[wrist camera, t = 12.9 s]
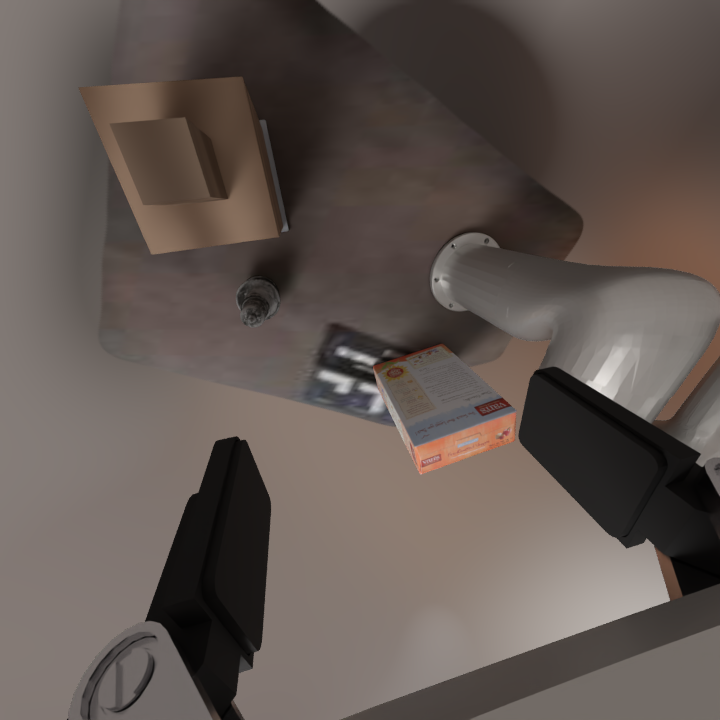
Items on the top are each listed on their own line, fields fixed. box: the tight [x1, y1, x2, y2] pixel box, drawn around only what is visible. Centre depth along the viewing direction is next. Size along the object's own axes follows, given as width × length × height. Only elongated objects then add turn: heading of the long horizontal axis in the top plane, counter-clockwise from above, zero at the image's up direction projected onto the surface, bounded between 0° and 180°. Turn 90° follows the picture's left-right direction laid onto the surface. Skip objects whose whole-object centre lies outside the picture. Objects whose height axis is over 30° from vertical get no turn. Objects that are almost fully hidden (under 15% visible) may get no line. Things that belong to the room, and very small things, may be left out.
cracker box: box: [373, 344, 517, 474], centre depth 46 cm, size 14×6×21 cm, turn 103°
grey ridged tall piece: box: [236, 276, 280, 327], centre depth 38 cm, size 6×6×12 cm
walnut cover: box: [79, 77, 283, 254], centre depth 27 cm, size 11×11×22 cm
